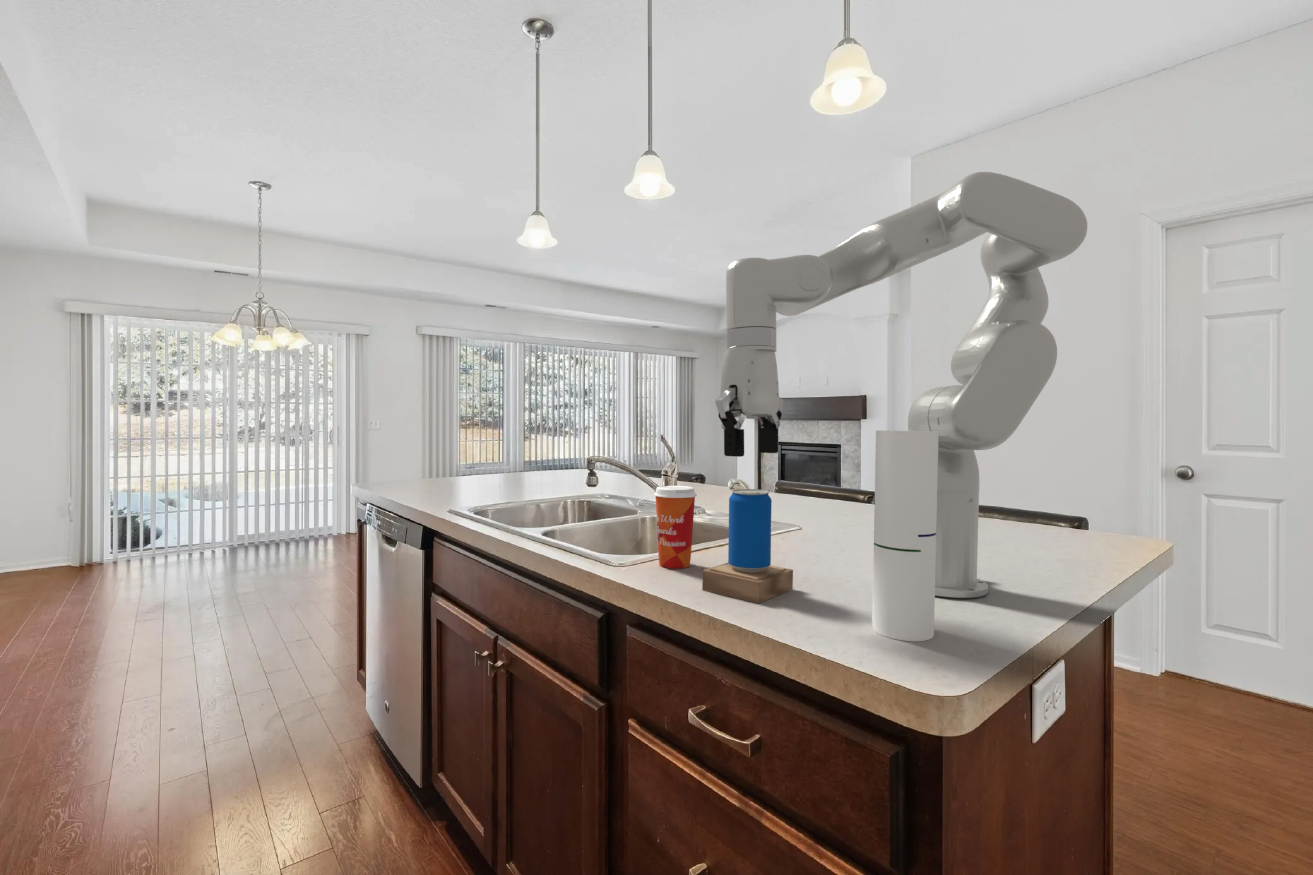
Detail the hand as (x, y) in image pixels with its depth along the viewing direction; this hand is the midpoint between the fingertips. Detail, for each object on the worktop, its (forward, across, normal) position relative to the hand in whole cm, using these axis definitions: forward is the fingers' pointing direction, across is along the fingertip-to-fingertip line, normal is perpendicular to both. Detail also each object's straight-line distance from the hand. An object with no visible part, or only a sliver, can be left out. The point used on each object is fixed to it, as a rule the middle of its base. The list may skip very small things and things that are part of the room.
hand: (752, 454), depth 91 cm
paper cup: (+21, -3, -19) cm, 28 cm away
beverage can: (+18, 0, 0) cm, 18 cm away
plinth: (+21, +1, -1) cm, 21 cm away
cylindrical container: (+21, +3, +24) cm, 32 cm away
